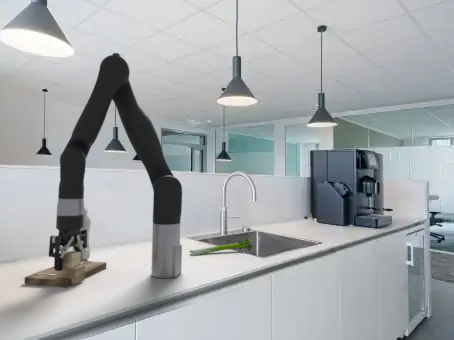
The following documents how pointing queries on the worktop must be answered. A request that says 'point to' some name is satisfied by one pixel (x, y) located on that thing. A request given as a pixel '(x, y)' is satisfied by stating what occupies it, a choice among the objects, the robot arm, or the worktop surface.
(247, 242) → the leek
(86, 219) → the plastic bottle
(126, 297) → the worktop surface
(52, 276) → the board
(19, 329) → the worktop surface
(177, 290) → the worktop surface
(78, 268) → the stepped wooden block
